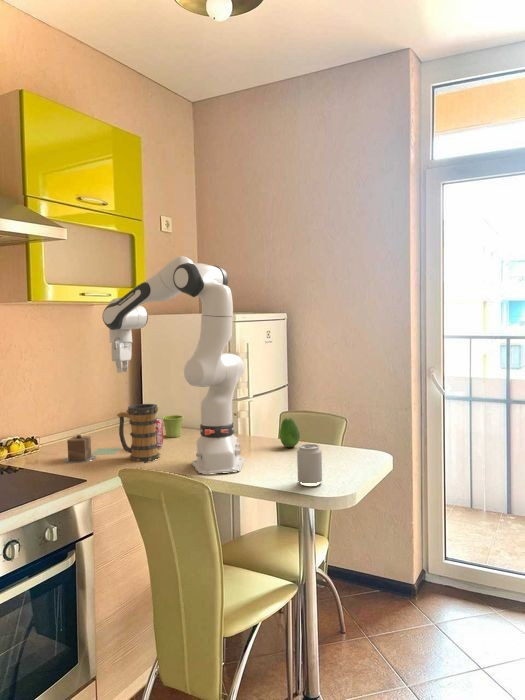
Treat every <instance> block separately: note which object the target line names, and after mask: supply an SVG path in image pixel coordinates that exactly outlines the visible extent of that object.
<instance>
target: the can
mask: <svg viewBox="0 0 525 700" xmlns="http://www.w3.org/2000/svg"><path fill="white" fill-rule="evenodd" d="M322 455H323V454H322V450H321V449H320V445H318V444H314V443H304V444H300V445H299V446H298V449H297V451H296V457H297V458H296V460H297V461H296V462H297V463H296V464H297V465H296V466H297V482H298V481H299V482H302V483H317V482H321V481H322V482H323V465H322V464H323V463H322V461H323V459H322V458H323V457H322ZM299 482H298V483H299Z"/></svg>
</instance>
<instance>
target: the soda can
mask: <svg viewBox="0 0 525 700" xmlns="http://www.w3.org/2000/svg"><path fill="white" fill-rule="evenodd" d="M156 419H157V421H156V432H158V433H157V434H156V442H157V443H158V444H157V445H158V447H157V450H160V449H162V447H163V446H164V431H163V430H164V429H163V422H162V421H163V420H161V417H156ZM159 448H160V449H159Z"/></svg>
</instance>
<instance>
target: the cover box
mask: <svg viewBox="0 0 525 700" xmlns="http://www.w3.org/2000/svg"><path fill="white" fill-rule="evenodd" d="M91 436H92V435H81V434H77V435H76V436H75V435H74V436H72V437H70V438H68V439H67V440H66V441H67V442H66V443H67V458H68V461H86V460H87V459H89V458H90V457H91V453H92V439H91Z"/></svg>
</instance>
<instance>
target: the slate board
mask: <svg viewBox="0 0 525 700" xmlns="http://www.w3.org/2000/svg"><path fill="white" fill-rule="evenodd" d="M96 459H97V455H91V457H90V458H89V459H87V460H86V461H68V457H66V458H64V459H63V463H65V464H82V463H88V462H92V461H94V460H96Z"/></svg>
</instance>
